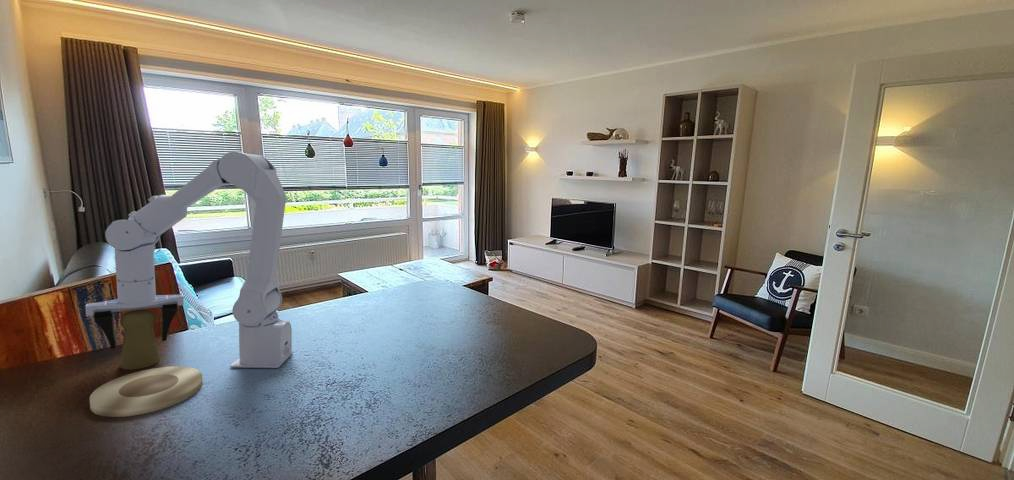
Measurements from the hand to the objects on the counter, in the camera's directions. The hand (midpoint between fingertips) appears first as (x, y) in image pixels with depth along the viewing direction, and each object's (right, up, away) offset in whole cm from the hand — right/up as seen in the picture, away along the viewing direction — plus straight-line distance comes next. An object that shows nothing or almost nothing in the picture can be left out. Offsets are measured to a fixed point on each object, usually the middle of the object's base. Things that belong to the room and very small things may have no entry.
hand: (139, 343), depth 83 cm
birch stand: (+12, -6, -11) cm, 17 cm away
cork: (0, -4, 0) cm, 4 cm away
